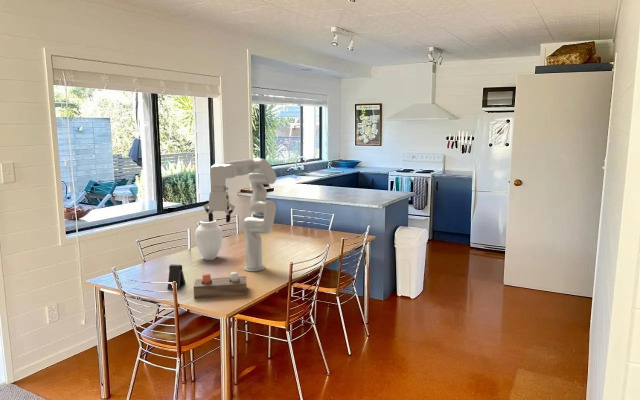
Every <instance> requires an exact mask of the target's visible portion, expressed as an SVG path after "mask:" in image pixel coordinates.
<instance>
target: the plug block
mask: <svg viewBox="0 0 640 400" xmlns="http://www.w3.org/2000/svg"><path fill="white" fill-rule="evenodd" d="M238 280H239V282H231V277H229V276H227V277H211V284H203V278H196V279H195V281H194V284H193V299H204V298H205V299H208V298H218V297H219V298H221V297H235V296H236V297H237V296H247V295H248V294H247V293H248V290H247V289H248V288H247V286H248V285H247V275H243V276H241V275H240V276H238Z"/></svg>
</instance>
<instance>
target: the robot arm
mask: <svg viewBox="0 0 640 400" xmlns="http://www.w3.org/2000/svg"><path fill="white" fill-rule="evenodd" d="M209 170H210V190H211V191H210V192H209V197H208V203H206V204H204V205H203V208H204V210H205V213H206V214H207V215H208V219H209V222H211V221H213V219H214V214H213V212H225V214H226V215H225V218H226V219H225V222H226V223H230V222H231V221H232V220H231V214H232V213H233V212H234V210H235V208H236V206H235V205H233V204H231V203H230V197H229V196H230V195H229V192H228V191H229V187H228V186H227V183H226V179H234V178H236V177H239V176H246V175H248V180H249V183H250V184H251V188H252V196H251V199H250V204H249V213H250V214H251V215H253V216H248V217H245V218H244V220H243V223H242V227H243V232H244V236H245V264H246V265H244V267H243V269H244V271H247V272H259V271H263V270H265V269H266V266H265V265H264V264H263V247H262V246H263V245H262V243H263V241H262V237H261V235H260V234H262V235H263V234H264V235H268V234H270V233H271V231H272V230H273V228H274V227H273V226H274V223H275V217H276V211H277V209H276V208H277V207H276V203H275V202H274V201H273V200H269V199H267V194H268V192H267V189H266V188H265V186H264V185H273V184H275V183H276V181H277V175H276V172H275V169H273V167H272V165H271V164H270V163H269V161H267V160H266V159H265V158H254V157H253V158H245V159H240V160H232V161H224V162H218V163H214V164H213V165H211V166H210V169H209ZM227 190H228V191H227ZM259 216H260V217H259Z"/></svg>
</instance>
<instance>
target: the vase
mask: <svg viewBox="0 0 640 400" xmlns="http://www.w3.org/2000/svg"><path fill="white" fill-rule="evenodd" d="M199 223H200V224H199V225H198V227H197V228H196V229H195V230H194V231H195V232H194V240H195V244H196V248H197V249H198V252H199V253H200V255H201V256H202V258H203V259H204V260H205V261H209V260H210V261H212V260H215V259H216V257H217V256H218V255H219V252H220V250H221V248H222V245H223V239H224V232H223V230H222V228H221V226H220V225H218V223H217V220H216V219H214V218H213V221H211V222H209V218H208V219H202V220H199Z"/></svg>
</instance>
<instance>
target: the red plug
mask: <svg viewBox="0 0 640 400" xmlns="http://www.w3.org/2000/svg"><path fill="white" fill-rule="evenodd" d="M211 278H212V277H211V273H202V279H203V284H211Z"/></svg>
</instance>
